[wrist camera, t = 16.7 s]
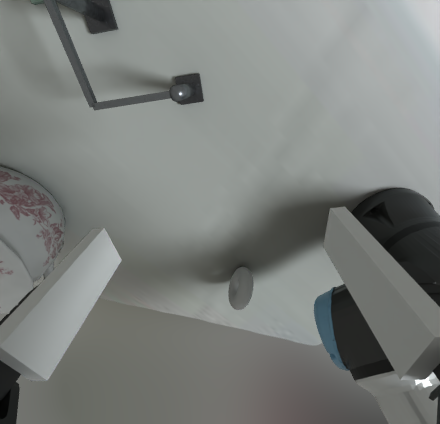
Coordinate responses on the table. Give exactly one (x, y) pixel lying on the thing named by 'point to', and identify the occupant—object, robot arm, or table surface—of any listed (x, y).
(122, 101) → the dark grey angled piece
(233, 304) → the donut
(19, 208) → the chamber pot
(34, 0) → the mat
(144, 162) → the table surface
